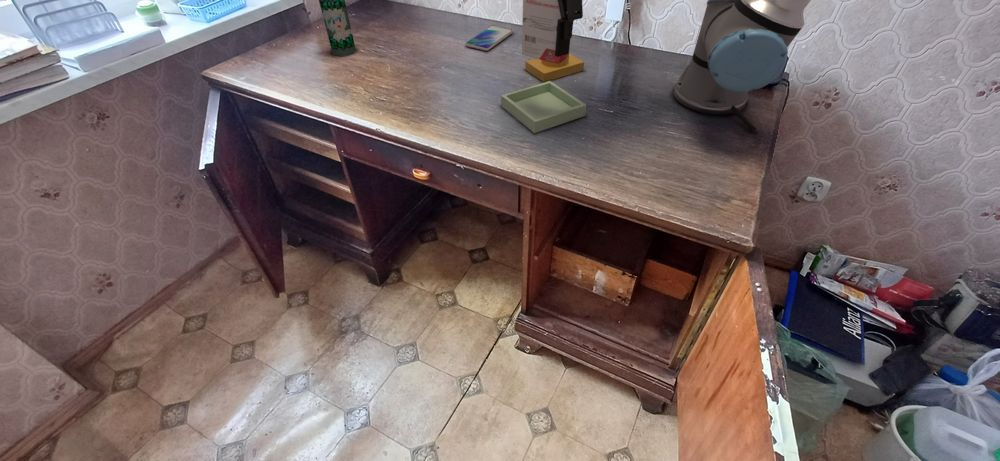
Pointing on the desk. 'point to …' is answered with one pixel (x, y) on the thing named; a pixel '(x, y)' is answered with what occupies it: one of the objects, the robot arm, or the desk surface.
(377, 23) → the desk surface
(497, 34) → the smartphone
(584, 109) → the tray
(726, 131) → the desk surface
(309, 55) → the desk surface
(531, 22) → the ink box
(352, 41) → the can
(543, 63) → the power switch
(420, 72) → the desk surface
